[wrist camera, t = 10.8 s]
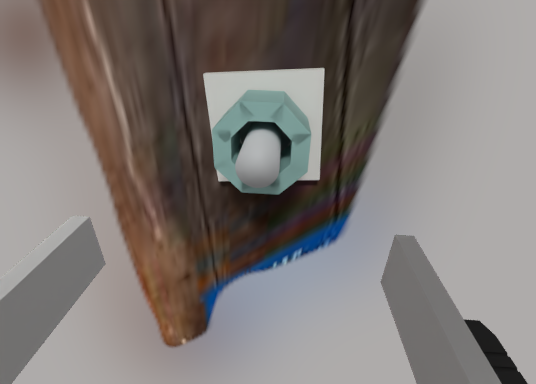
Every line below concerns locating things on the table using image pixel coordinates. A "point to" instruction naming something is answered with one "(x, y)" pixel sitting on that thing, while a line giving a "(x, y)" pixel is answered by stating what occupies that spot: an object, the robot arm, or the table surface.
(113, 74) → the table surface
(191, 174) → the table surface
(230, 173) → the ring
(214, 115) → the plate with round peg
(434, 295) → the robot arm
